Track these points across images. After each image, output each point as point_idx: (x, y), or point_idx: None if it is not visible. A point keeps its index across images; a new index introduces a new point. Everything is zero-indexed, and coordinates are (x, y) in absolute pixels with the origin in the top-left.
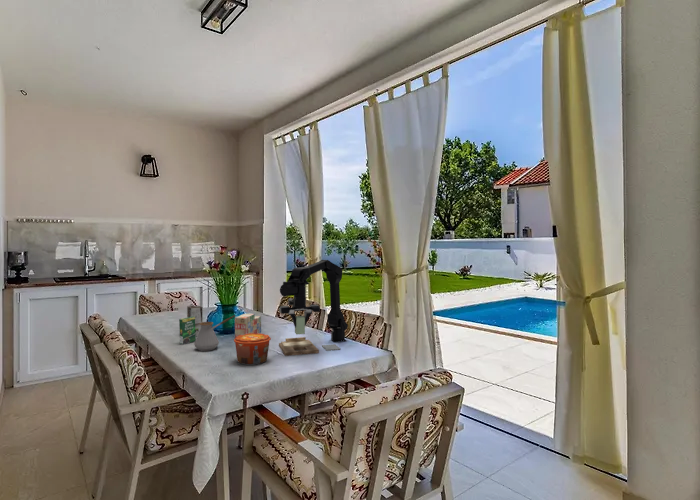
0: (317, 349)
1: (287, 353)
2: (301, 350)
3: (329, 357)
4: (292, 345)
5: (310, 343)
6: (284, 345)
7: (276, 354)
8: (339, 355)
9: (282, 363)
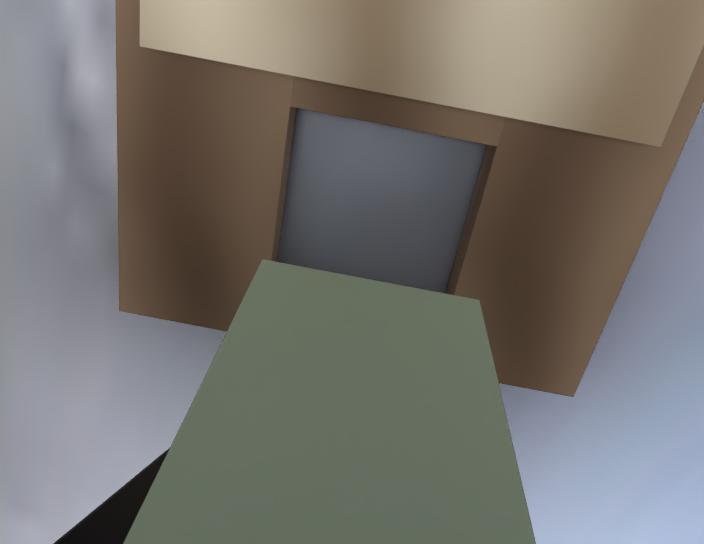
0: (571, 373)
1: (155, 311)
2: None
3: (562, 538)
4: (294, 74)
5: (647, 106)
6: (154, 10)
7: (38, 171)
8: (699, 533)
9: (71, 488)
